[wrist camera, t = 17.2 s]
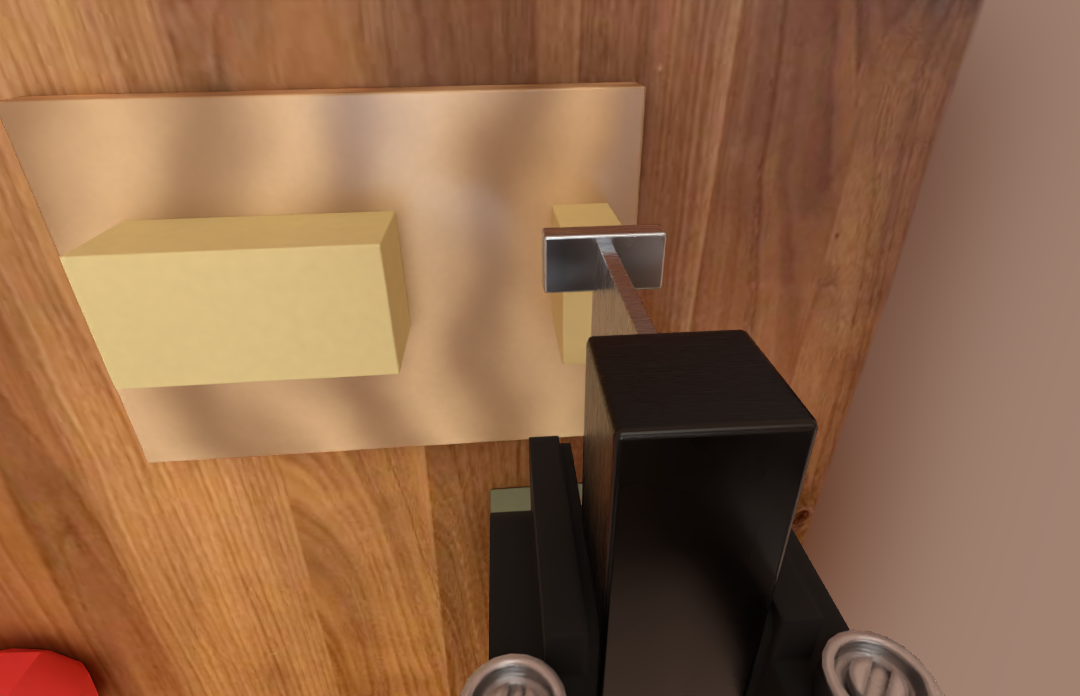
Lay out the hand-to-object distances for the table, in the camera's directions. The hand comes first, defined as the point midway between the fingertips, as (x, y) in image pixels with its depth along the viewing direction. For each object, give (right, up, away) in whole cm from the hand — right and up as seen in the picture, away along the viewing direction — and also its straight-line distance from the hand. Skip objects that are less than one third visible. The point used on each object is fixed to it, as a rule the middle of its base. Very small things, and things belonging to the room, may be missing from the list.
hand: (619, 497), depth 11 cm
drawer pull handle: (0, +2, +3) cm, 3 cm away
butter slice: (0, +6, +11) cm, 12 cm away
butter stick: (-11, +5, +10) cm, 16 cm away
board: (-8, +5, +12) cm, 16 cm away
